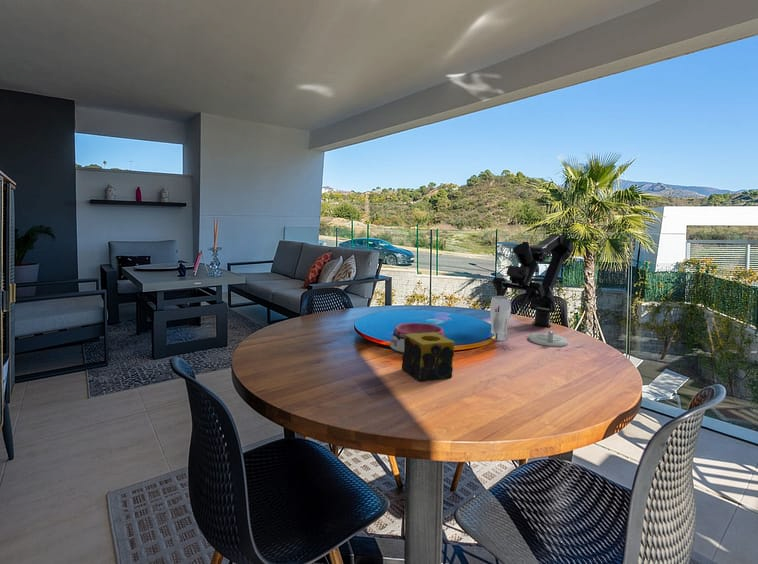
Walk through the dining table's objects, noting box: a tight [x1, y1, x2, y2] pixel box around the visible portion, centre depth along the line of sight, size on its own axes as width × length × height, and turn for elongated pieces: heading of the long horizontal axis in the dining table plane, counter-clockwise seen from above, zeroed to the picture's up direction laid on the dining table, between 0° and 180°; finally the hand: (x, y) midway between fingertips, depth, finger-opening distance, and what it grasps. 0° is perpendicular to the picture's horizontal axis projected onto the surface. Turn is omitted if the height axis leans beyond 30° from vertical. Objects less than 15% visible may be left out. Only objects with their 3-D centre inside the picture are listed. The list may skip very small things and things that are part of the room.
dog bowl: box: [389, 322, 446, 355], centre depth 134 cm, size 18×19×7 cm
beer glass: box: [489, 295, 512, 342], centre depth 148 cm, size 7×7×15 cm
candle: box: [401, 332, 456, 383], centre depth 110 cm, size 10×10×10 cm
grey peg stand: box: [528, 331, 569, 348], centre depth 148 cm, size 13×13×5 cm
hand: (507, 304), depth 151 cm, fingers open, 9 cm apart
